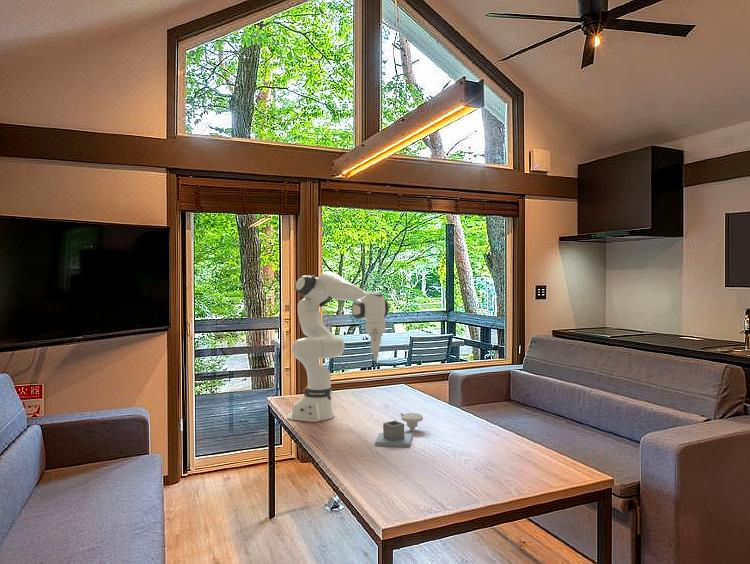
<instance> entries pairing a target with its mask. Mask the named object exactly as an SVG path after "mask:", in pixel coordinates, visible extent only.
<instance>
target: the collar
mask: <svg viewBox="0 0 750 564" xmlns="http://www.w3.org/2000/svg"><path fill="white" fill-rule="evenodd" d="M382 424H383V425H382V428H383V430H382V431H383V432H382V433H383V437H384V438H386V439H388V440H391V441H396V440H400V439H404V434H405V423H404V422H403V423H402V422H401V421H398V420H392V421H391V420H390V421H385V422H383V423H382Z"/></svg>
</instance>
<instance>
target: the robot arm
mask: <svg viewBox="0 0 750 564" xmlns="http://www.w3.org/2000/svg"><path fill="white" fill-rule="evenodd" d="M294 289H295V292H296V293H298V295H300V296H302V297H303V298H302V299H300V300H299V301H298V303H297V306H296V307H297V316H298V320H299V324H300V328H301V332H302V333H303V334H304V336H306V337H302V338H301V337H300V338H298V339H296V340H295V341H294V342H293V343H292V346H291V347H292V348H291V349H292V354H293V357H294V358H296V360H298V361H299V362H300V363H301V364H302V365H303V367H304V369H305V371H306V376H307V377H306V378H307V386H306V387H305V388H304V389H303V395H302V397H300V398H299V399H298V400H297V401H296V402H294V404H293V405H292V411H291V412H289V413H288V414H287V417H286V418H287V419H288V420H292V421H302V422H310V423H311V422H312V423H317V422H320V421H326V420H330V419H333V418H334V417H335V413H334V410H333V409H334V408H333V404H332V398H333V391H332V385H331V382H332V381H331V380H332V379H331V371H330V369H329V368H327V367H326V366H324V365H322V364H320V362H319V361H320V360H324V359H325V360H326V359H327V360H328V359H334V358H337V357H341V356H342V355H343V354H344V350H345V342H344V340H343V338H341V336H338V335H336V334H334V333H333V332H331V331H330V330H329V329H328V328H327V327H326V325H325V324H324V321H323V318H322V315H321V313H320V309H319V307H324V306H326V305H327V304H328V303H330V302H331V301H332V300H334V299H335V301H349V302H350V301H353V302H352V304H351V313H352V317H354V318H355V320H365V333H368V336H369V337H370V352H371V353H372V356H373V357H372V358H373V359H372V360H373V362H377V361H378V358H379V352H380V347H381V343H382V336H384V334H383V333H386V319H385V318H386V317H387V315H388V313H389V311H390V306H389V302H388V301H387V300H386V299H385V296H384V294H383V293H382V292H378V291H367V290H365V289H363V288H362V287H359V286H358V285H356V284H354V283H352V282H350V281H349V280H347V279H345V278H343V277H342V276H341V275H340V274H338V273H336V272H334V271H330V270H326V271H323V272H322V273H321V274H320V275H319V276H318V277H317V276H315V275H314V274H313V275H312V274H311V275H301V276H300V277H299V278H297V280H296V281H295V284H294Z"/></svg>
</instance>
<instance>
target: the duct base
mask: <svg viewBox="0 0 750 564" xmlns="http://www.w3.org/2000/svg"><path fill="white" fill-rule="evenodd" d="M412 439H413V433H404V439H400V440H396V441H391V440H388V439H386V438H384V437H383V432H379V433H378V435H377V437H376V439H375V442H374V446H375V447H376V446H377V447H396V448H397V447H398V448H399V447H400V448H402V447H403V448H410V447H411V444H412V441H413V440H412Z"/></svg>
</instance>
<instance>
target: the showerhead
mask: <svg viewBox="0 0 750 564" xmlns="http://www.w3.org/2000/svg"><path fill="white" fill-rule="evenodd" d="M399 415H400V416H401V421H403V422H406V426H407V428H409V431H410V432H414V431H415V428H417V427H418V426H419V425H418V423H419V422H422V421H423V420H424V416H423V415H422V414H420V413H417V412H416V413H414V412H413V413H412V412H410V413H409V412H407V413H400V414H399Z"/></svg>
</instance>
